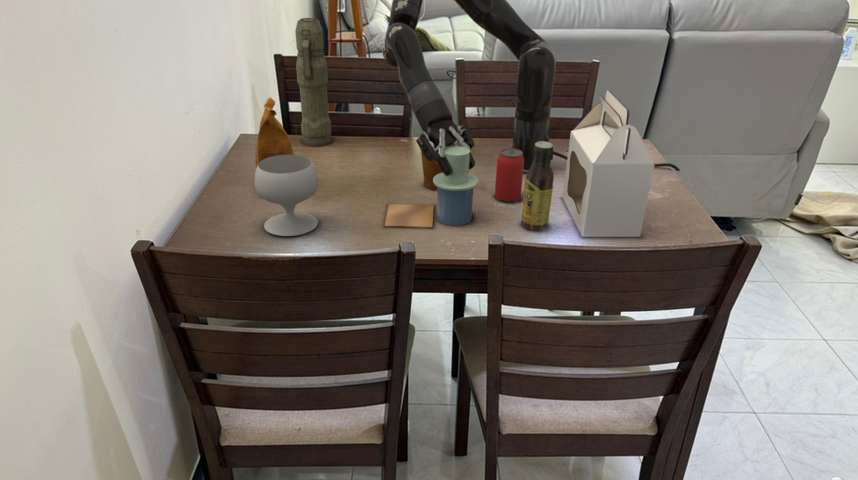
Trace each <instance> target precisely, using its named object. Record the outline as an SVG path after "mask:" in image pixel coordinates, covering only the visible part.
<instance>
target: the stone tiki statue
mask: <svg viewBox="0 0 858 480" xmlns="http://www.w3.org/2000/svg"><path fill="white" fill-rule="evenodd" d="M294 33H295V44H296V50H297V55H296V57H297V59H296V64H295V69H296V81H297V84H298V87H299V96H300V97H299V98H300V110H301V118H302V119H301V121H300V128H301V129H300V131H301V135H302V143H303V144H304V145H306V146H311V147H319V146H320V147H321V146H325V145H329V144H330V143H332V122H331V121H332V120H331V119H330V115H329V101H328V83H329V75H328V74H329V73H328V63H327V60H326V57H325V52H324V48H325V45H324V44H325V43H324V31H323V26H322V24H321V22H320V20H319V19H317V18H314V17H304V18H299V19H298V20H297V22H296V26H295V32H294Z"/></svg>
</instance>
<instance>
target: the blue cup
mask: <svg viewBox="0 0 858 480" xmlns="http://www.w3.org/2000/svg"><path fill="white" fill-rule="evenodd" d="M436 195H437V196H436V219H437V220H438V222H439V223H440V222H441V224H445V225H449V226H462V225H466V224H468V223H470V222H471V220H472V218H473V202H474V201H473V200H474V188H472V189H469V190H464V191H450V190H444V189H441V188H439V187H438V190H437V194H436Z"/></svg>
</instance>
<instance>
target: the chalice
mask: <svg viewBox="0 0 858 480" xmlns="http://www.w3.org/2000/svg"><path fill="white" fill-rule="evenodd" d="M253 182H254V184H253V185H254V188H255V191H256V193H257V194H258V195H259V196H260V198H262V199H263V200H265V201H267V202H269V203H272V204H275V205H278V206H281V207H282V208H283V209H284V212H283V213H279V214H276V215H274V216H271V217H270V218H268V219H267V220H266V221H265V222H264V224H263V227H264V230H265V231H266V232H267V233H269V234H272V235H274V236H280V237H281V236H282V237H294V236H301V235H304V234H308V233H309V232H311V231H313V230H315V229H316V227H317V226H318V224H319V222H318V219H317V218H316V217H314V216H313V215H312V214H308V213H305V212H297V211H295V208H296V206H297V205H299V204H300V203H302V202H304V201H306V200H308V199H309V198H311V197H312V196H313V195H314V194H315V193H316V192H317V190H318V189H319V175H318V171H317V169H316V167H315V165H314V163H313V162H312V160H311V159H310V158H308V157H307V156H303V155H299V154H294V155H278V156H272V157H269V158H266V159H264V160H262V161H261V162H260V163H259V164H258V166H257V168H256V167H255V173H254V181H253Z"/></svg>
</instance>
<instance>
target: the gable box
mask: <svg viewBox="0 0 858 480" xmlns="http://www.w3.org/2000/svg"><path fill="white" fill-rule="evenodd" d="M599 99H600V101H599V102H597V103H596V104H595V105H594V106H593V107H592V108H591V109H590V110H589V112H588V113H587V114H586V115H585V116H584V117H583V118H582V119H581V121H580V122H579V123H578V124H577V125H576V126H574V128H573V129H572V130H571V131H570V136H569V144H568V151H567V157H568V158H567V160H566V166H565V174H564V183H563V189H562V190H563V191H562V200H563V202H564V204H565V206H566V208H567V210H568V211H569V213H570V216H571V218H572V220H573V222H574V224H575V226H576V228H577V229H578V231H579V233H580V236H581V237H583V238H640V237H641V235H642V229H643V224H644V221H645V220H644V219H645V215H646V210H647V204H648V199H649V195H650V190H651V184H652V179H653V174H654V171H655V167H654V165H655V164H656V163H655V162H654V161H653V159H652V158H651V155H650V153H649V151H648V149H647V147H646V145H645V143H644V141H643V139H642V137H641V135H640V133H639V131H638V129H637V128H636V127H635V126H633V125H631V124H629V121H630V108H628V107H627V106H626V105H625V104H624V103H623V102H622V100H620V99H619V98H618V97H617V96H616V95H615V94H614V93H613V92H612V91H611V90H607V91H606V93H605V97H603V96H602V95H601V94H599Z"/></svg>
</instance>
